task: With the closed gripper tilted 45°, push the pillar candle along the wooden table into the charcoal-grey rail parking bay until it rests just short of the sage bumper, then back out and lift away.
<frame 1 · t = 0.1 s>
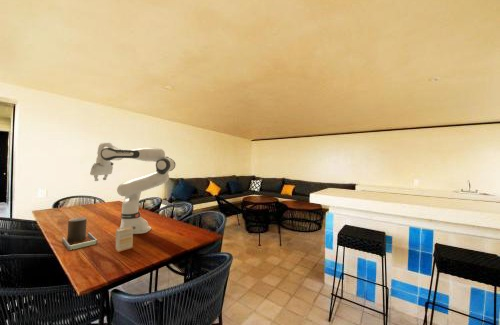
hand: (100, 180, 157), 39 cm above the table, tool pointing down, fingers open, 8 cm apart
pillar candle: (76, 239, 138), on the table
parking bay: (80, 243, 132), on the table
supplement box: (123, 249, 126), on the table
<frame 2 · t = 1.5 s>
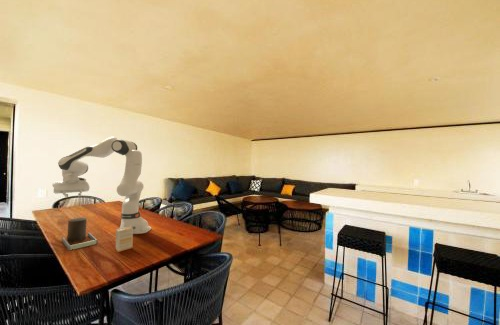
hand: (73, 196, 148), 28 cm above the table, tool tilted 45°, fingers open, 6 cm apart
nothing on the table moved.
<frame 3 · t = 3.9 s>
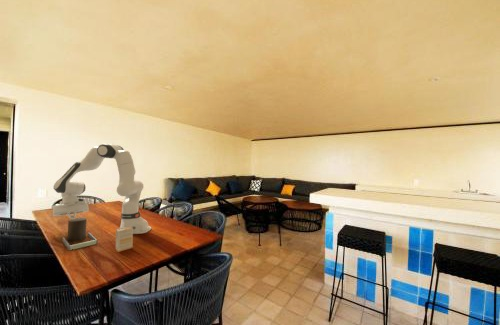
hand: (72, 218, 149), 11 cm above the table, tool tilted 45°, fingers closed
nothing on the table moved.
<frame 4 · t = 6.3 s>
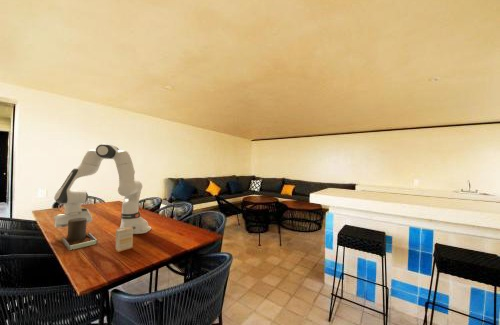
hand: (75, 229, 142), 5 cm above the table, tool tilted 45°, fingers closed, pressing on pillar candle
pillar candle: (76, 239, 138), on the table, touching gripper
everything else where it was.
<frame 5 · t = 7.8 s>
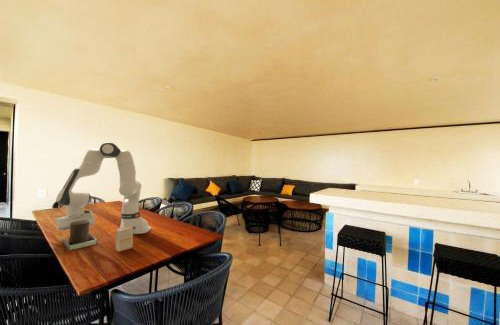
hand: (78, 232, 136), 5 cm above the table, tool tilted 45°, fingers closed, pressing on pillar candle
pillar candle: (79, 242, 133), on the table, touching gripper
everything else where it was.
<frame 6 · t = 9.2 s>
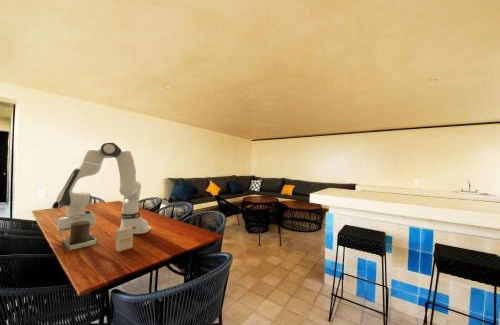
hand: (78, 233, 135), 5 cm above the table, tool tilted 45°, fingers closed, pressing on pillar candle
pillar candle: (79, 243, 131), on the table, touching gripper
everything else where it was.
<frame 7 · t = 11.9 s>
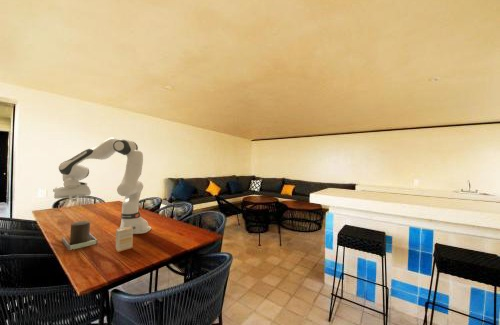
hand: (74, 201, 145), 25 cm above the table, tool tilted 45°, fingers closed
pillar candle: (79, 243, 131), on the table
everything else where it was.
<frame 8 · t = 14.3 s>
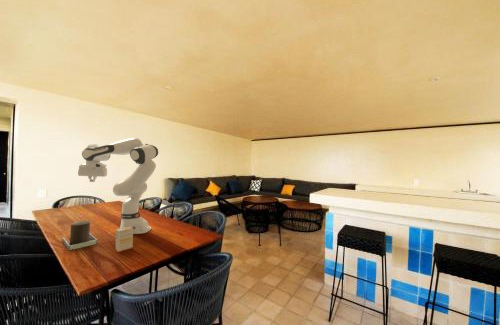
hand: (92, 181, 161), 37 cm above the table, tool pointing down, fingers closed
nothing on the table moved.
at the end: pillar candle 0.5 cm from the parking bay (horizontally); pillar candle tilted 0°; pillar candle moved 10.7 cm from its start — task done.
